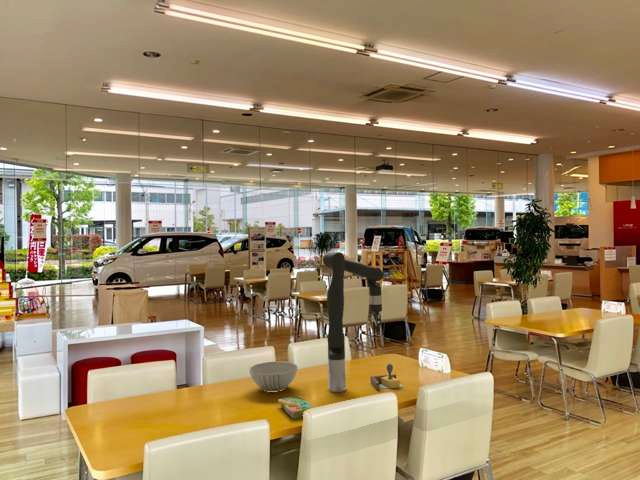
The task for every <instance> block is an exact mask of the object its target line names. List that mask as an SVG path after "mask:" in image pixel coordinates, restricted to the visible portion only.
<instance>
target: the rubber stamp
mask: <svg viewBox="0 0 640 480" xmlns="http://www.w3.org/2000/svg"><path fill="white" fill-rule="evenodd" d="M386 370H387V373H388V374H387V375H389V376H386V377H381V383H380V384H383V385H385V386H387V387H390V388H389V389H397V388H396V387H400V384H401V381H400V379H398V378H397V377H396V378H393V377H391V375H392V374H393V370H394V366H393V365H392V363H388V364H387V365H386ZM400 388H401V387H400Z"/></svg>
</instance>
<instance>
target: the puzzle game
mask: <svg viewBox="0 0 640 480" xmlns="http://www.w3.org/2000/svg"><path fill="white" fill-rule="evenodd" d="M277 401H278V404H279V405H280V407H281V408H282V409H283V410H284V411H285V412H286V413H287V414H288V415H289V416H290V417H291V418H292V419H293V418H294V417H300V418H303V417H302V415H303V412H304V411H305V410H307V409H310V408H315V407H314V406H313V405H312V404H310V403H309V402H308V401H307V400H305V399H304V398H303V397H302V396H301V395H298V396H297V395H296V396H293V397H292V396H291V397H284V398H280V399H279V398H278V399H277ZM294 419H295V418H294Z"/></svg>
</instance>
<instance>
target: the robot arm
mask: <svg viewBox="0 0 640 480" xmlns="http://www.w3.org/2000/svg"><path fill="white" fill-rule="evenodd" d="M322 263H323V265H324V266H325V267H326V268H327V269H332V270H331V271H332V275H331V277H332V278H331V282H330V284H329V287H328V288H327V293H326V305H327V315H328V332H327V333H328V334H327V357H328V358H327V360H328V361H327V362H328V366H327V367H328V371H327V385H328V386H327V388H328V391H329V392H332V393H342V392H344V391H346V390H347V383H346V381H347V377H346V349H345V348H346V346H345V344H346V342H345V341H346V339H345V338H346V337H345V333H344V326H343V325H344V324H343V319H344V310H345V309H344V308H345V291H344V290H345V288H344V287H345V285H344V284H345V283H344V282H345V281H344V278H345V272H348V273H350V274H353V275H354V276H355V275H356V276H358V277H361V278H365V279H366V282H367V286H368V311H369V312H370V321H371V323H372V327H371V328H372V330H373V331H375V333H381V326H382V315H381V314H380V313H381V312H382V311H383V297H382V286H381V285H379V284H378V283H377V282H380V281H382V280H383V279H384V276H385V275H384V272H383V270H382V269H381V268H377V267H374V266H369V265H367V264H363V263H361V262H357V261H353V260H348V259H346V258H345V255H344V254H343V253H342V252H341V251H340V252H339V251H329V252H326V253H325V254H324V255H323V257H322Z"/></svg>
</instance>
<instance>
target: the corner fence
mask: <svg viewBox="0 0 640 480" xmlns="http://www.w3.org/2000/svg"><path fill="white" fill-rule="evenodd" d="M386 376H389V374H382V375H381V374H380V375H370V384H371V385H372V387H373V388H374V389H375V390H376V391H380V386H379V384H381V377H386ZM391 377H393V378H396V379H397V374H395V373H394V374H393V373H391Z"/></svg>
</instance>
